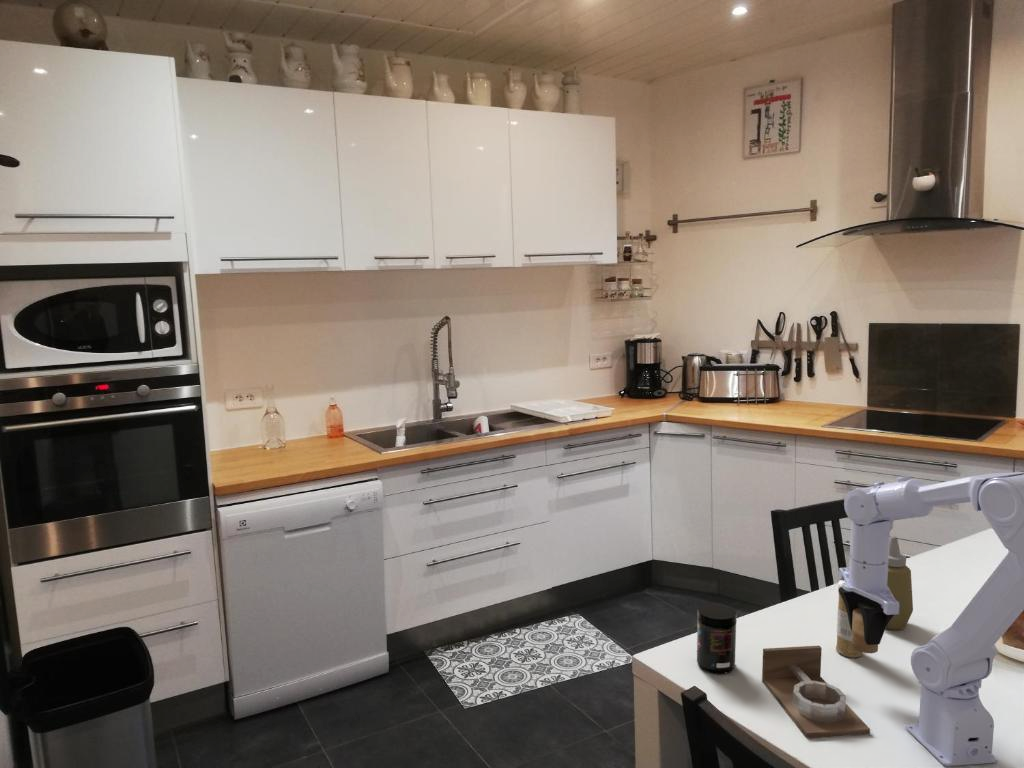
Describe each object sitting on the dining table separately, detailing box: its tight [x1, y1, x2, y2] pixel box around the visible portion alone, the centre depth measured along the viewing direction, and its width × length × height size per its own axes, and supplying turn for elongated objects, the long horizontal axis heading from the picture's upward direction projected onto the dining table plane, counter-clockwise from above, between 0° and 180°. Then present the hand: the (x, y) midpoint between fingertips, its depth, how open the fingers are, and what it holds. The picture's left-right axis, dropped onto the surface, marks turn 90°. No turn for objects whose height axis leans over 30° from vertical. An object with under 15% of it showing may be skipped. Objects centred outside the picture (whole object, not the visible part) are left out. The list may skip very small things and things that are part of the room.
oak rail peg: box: [851, 608, 879, 654], centre depth 121 cm, size 4×4×6 cm
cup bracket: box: [761, 645, 871, 739], centre depth 118 cm, size 16×10×6 cm, turn 4°
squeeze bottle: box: [885, 535, 914, 631], centre depth 145 cm, size 8×8×18 cm
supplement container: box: [696, 602, 738, 675], centre depth 131 cm, size 7×7×10 cm
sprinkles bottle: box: [835, 579, 863, 658], centre depth 134 cm, size 5×5×13 cm
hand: (864, 637), depth 122 cm, fingers closed on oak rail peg, 4 cm apart
